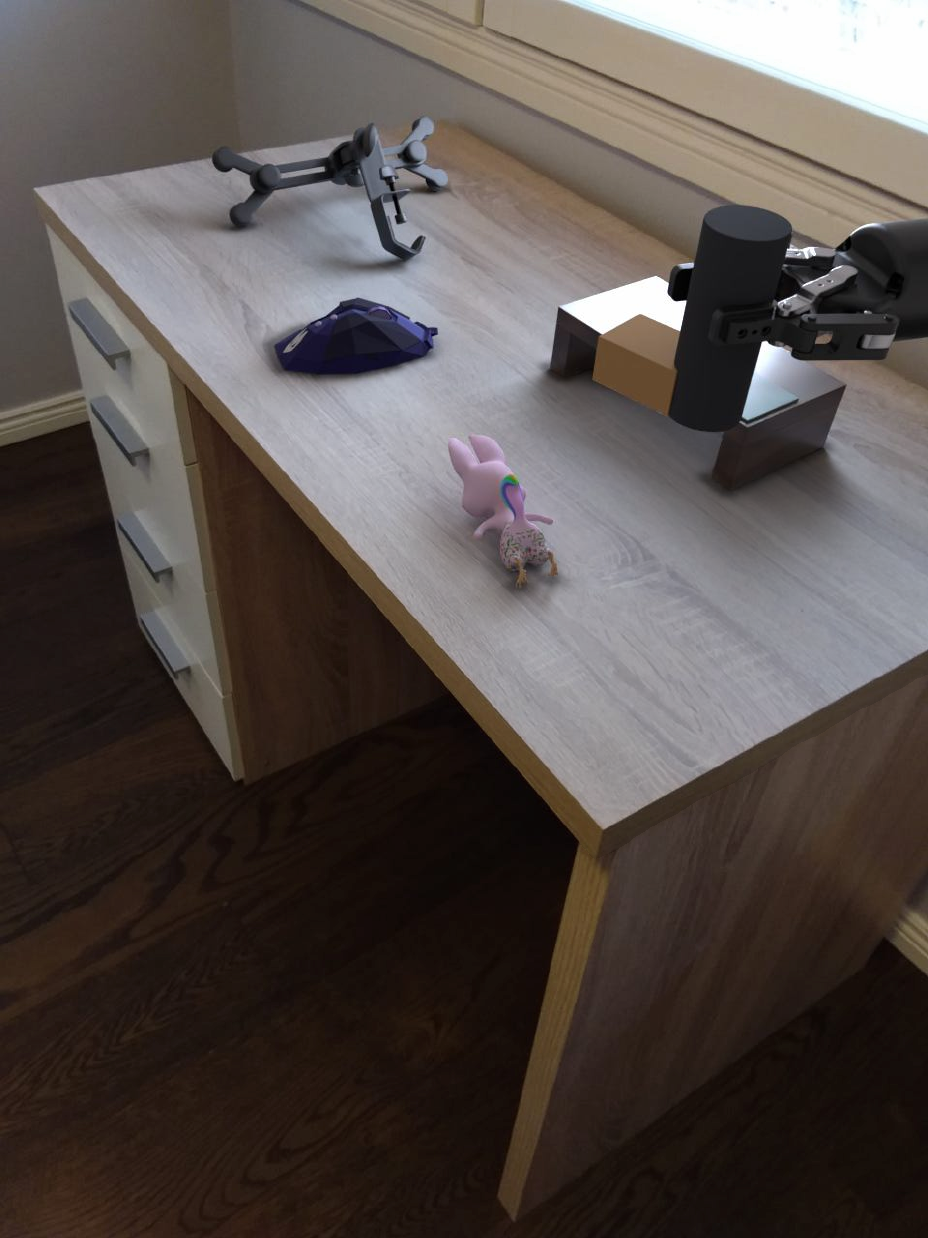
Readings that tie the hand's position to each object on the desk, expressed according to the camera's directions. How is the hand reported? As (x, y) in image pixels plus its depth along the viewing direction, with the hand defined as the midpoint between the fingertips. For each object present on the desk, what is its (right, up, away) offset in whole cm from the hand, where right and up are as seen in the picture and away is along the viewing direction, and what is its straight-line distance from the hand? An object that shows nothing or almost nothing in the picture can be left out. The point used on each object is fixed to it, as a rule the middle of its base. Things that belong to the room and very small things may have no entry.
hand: (692, 305), depth 63 cm
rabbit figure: (-12, -12, +13) cm, 22 cm away
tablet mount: (-25, +23, +49) cm, 60 cm away
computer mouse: (-24, +5, +31) cm, 39 cm away
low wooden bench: (+5, -1, +27) cm, 27 cm away
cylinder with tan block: (0, -4, +7) cm, 8 cm away
